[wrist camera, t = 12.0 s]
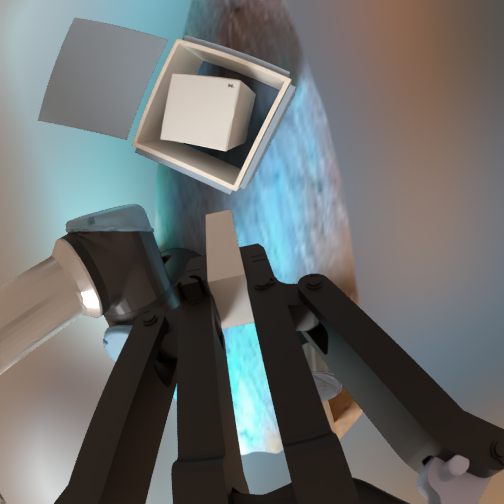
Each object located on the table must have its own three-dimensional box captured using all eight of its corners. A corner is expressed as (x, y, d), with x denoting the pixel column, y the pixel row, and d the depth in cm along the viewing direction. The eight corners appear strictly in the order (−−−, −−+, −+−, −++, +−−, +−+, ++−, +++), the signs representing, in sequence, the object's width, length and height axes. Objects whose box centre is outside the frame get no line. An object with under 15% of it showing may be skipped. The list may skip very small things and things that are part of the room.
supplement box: (204, 85, 43) (171, 70, 29) (257, 93, 42) (243, 78, 29) (194, 135, 46) (157, 140, 33) (245, 145, 46) (227, 152, 33)
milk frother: (337, 319, 58) (346, 371, 44) (329, 371, 64) (334, 420, 51) (268, 320, 60) (261, 371, 46) (270, 371, 66) (265, 420, 53)
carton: (298, 89, 41) (301, 76, 30) (250, 183, 49) (239, 200, 38) (204, 52, 40) (179, 33, 29) (163, 144, 47) (130, 151, 37)
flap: (168, 40, 29) (74, 17, 22) (126, 139, 35) (37, 120, 28) (167, 40, 30) (76, 18, 23) (127, 138, 36) (40, 119, 29)
